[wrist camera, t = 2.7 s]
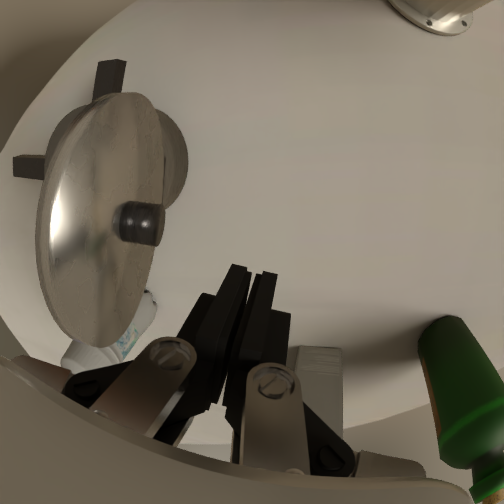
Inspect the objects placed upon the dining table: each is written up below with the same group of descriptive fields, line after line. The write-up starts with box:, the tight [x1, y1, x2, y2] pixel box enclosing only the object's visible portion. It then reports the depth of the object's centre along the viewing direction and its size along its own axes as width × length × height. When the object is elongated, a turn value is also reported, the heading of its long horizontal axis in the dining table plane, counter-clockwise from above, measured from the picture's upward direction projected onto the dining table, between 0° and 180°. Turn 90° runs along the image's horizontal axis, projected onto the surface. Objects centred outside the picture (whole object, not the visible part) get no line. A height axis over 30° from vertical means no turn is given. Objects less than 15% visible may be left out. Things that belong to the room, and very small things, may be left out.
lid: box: [35, 92, 165, 348], centre depth 15 cm, size 15×15×3 cm
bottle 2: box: [418, 316, 504, 504], centre depth 21 cm, size 11×11×28 cm
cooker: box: [13, 59, 188, 209], centre depth 27 cm, size 23×24×9 cm
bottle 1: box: [61, 292, 157, 374], centre depth 30 cm, size 7×7×20 cm
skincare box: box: [294, 346, 343, 440], centre depth 32 cm, size 8×7×16 cm
